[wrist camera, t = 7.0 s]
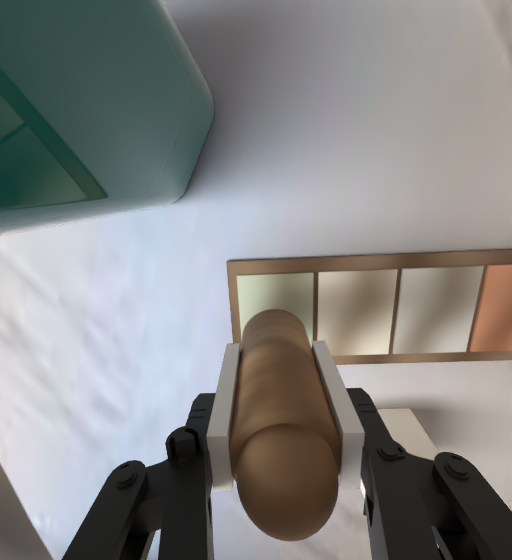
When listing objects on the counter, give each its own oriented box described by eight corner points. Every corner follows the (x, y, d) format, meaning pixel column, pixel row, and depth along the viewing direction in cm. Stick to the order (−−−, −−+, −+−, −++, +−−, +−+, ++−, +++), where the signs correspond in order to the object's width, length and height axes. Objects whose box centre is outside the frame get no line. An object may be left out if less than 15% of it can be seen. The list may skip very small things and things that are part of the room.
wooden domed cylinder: (243, 367, 20) (223, 577, 9) (240, 310, 18) (210, 477, 8) (306, 365, 20) (360, 577, 9) (307, 307, 18) (372, 474, 8)
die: (348, 451, 26) (367, 509, 22) (351, 408, 25) (372, 461, 20) (402, 450, 26) (433, 508, 21) (409, 407, 25) (444, 460, 20)
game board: (235, 364, 24) (235, 369, 23) (227, 261, 21) (226, 263, 20) (543, 356, 23) (550, 360, 22) (577, 246, 20) (587, 248, 19)
